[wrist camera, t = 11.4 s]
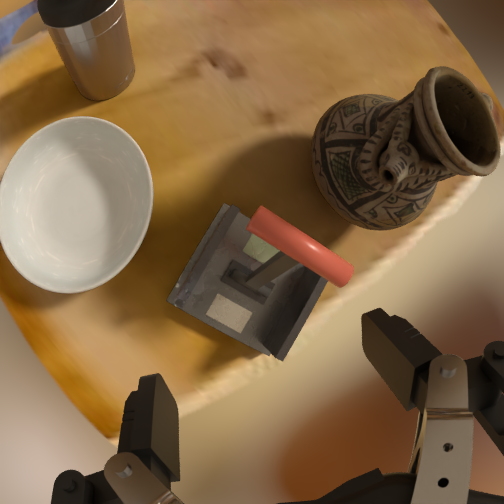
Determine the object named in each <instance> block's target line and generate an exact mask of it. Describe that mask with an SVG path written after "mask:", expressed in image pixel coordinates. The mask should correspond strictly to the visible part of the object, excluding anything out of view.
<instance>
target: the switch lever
mask: <svg viewBox="0 0 504 504" xmlns="http://www.w3.org/2000/svg"><path fill="white" fill-rule="evenodd" d="M246 230H248V231H249V232H251V233H253V234H254V235H256V236H257V237H259V238H261V239H262V240H264V241H266V242H267V243H269V244H270V245H272V246H274V247H275V248H277V249H278V250H280V251H279V252H278V253H277V254H275V255H274V256H273V257H271V258H270V259H269V260H267V261H266V262H265V263H263V264H262V265H261V266H260V267H258V268H257V269H256V270H254V271H253V272H252V273H250V274H249V275H248V276H247V275H246V274H244V273H242V272H241V271H239V270H237V269H236V268H235V269H234V270H233V272H232V274H231V276H230V278H232V279H234V280H236V281H237V282H239V283H241V284H242V285H244V286H246V287H248V288H249V289H251V290H253V291H255V292H256V293H258V294H260V295H262V296H263V297H265V298H268V296H269V295H270V293H271V289H270V288H268V287H266V286H264V285H265V284H267V283H269V282H270V281H272V280H274V279H275V278H277V277H278V276H280V275H282V274H283V273H285V272H286V271H288V270H290V269H291V268H293V267H294V266H296V265H297V264H299V263H301V264H302V265H304V266H305V267H307V268H309V269H310V270H312V271H313V272H315V273H317V274H318V275H320V276H321V277H323V278H324V279H326V280H328V281H329V282H331V283H332V284H334V285H335V286H337V287H339V288H341V287H343V286H345V285H346V284H347V283H348V281H349V280H350V278H351V277H352V274H353V271H354V268H353V266H352V265H351V264H350V263H348V262H347V261H345V260H344V259H342V258H341V257H339V256H338V255H336V254H335V253H333V252H332V251H330V250H329V249H327V248H326V247H324V246H323V245H322V244H320V243H319V242H317V241H316V240H314V239H313V238H311V237H309V236H308V235H306V234H305V233H303V232H302V231H300V230H299V229H297V228H296V227H294V226H293V225H291V224H290V223H288V222H287V221H285V220H284V219H282V218H280V217H279V216H277V215H276V214H274V213H273V212H271V211H270V210H268V209H266V208H265V207H263V206H262V205H261V206H260V207H259V208H258V209H257V210H256V212H255V213H254V215H253V216H252V218H251V219H250V221H249V223H248V225H247V227H246Z"/></svg>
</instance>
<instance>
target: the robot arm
mask: <svg viewBox="0 0 504 504" xmlns="http://www.w3.org/2000/svg"><path fill="white" fill-rule="evenodd" d="M37 5H38V11H39V14H40V16H41V18H42V20H43V22H44V24H45V26H46V28H47V30H48V32H49V34H50V36H51V38H52V40H53V42H54V44H55V46H56V49H57V51H58V53H59V55H60V57H61V59H62V61H63V62H64V64H65V66H66V68H67V70H68V72H69V74H70V76H71V78H72V79H73V81H74V83H75V84H76V86H77V88H78V90H79V92H80V93H81V94H82V95H83V96H84V97H86V98H87V99H91V100H106V99H109V98H112V97H114V96H116V95H118V94H119V93H121V92H122V91H123V90H124V89H125V88H126V87H127V86H128V85H129V84H130V82H131V81H132V79H133V77H134V73H135V66H134V60H133V55H132V49H131V44H130V38H129V32H128V26H127V20H126V14H125V7H124V1H123V0H38V3H37ZM361 320H362V321H361V322H362V346H363V350H364V353H365V355H366V357H367V358H368V360H369V361H370V362H371V364H372V365H373V366H374V368H375V369H376V370H377V372H378V373H379V374H380V375H381V377H382V378H383V379H384V381H385V382H386V384H387V385H388V386H389V388H390V389H391V390H392V392H393V393H394V394H395V396H396V397H397V398H398V400H399V401H400V402H401V404H402V405H403V407H404V408H405V409H406V411H409V410H411V409H412V408H415V407H417V408H418V409H419V411H420V412H419V417H418V423H417V430H416V436H415V442H414V447H413V453H412V457H411V461H410V464H409V468H408V472H407V473H402V472H396V473H386V474H381V472H380V470H379V468H377V469H375V470H372V471H370V472H368V473H365V474H363V475H361V476H358V477H356V478H353V479H351V480H349V481H347V482H345V483H344V484H342V485H341V486H339V487H337V488H336V489H334V490H333V491H331V492H329V493H328V494H326V495H325V496H323V497H321V498H319V499H317V500H311V501H301V502H288V503H278V504H504V496H499V495H493V494H488V493H484V492H479V491H475V490H470V489H469V483H470V474H471V463H472V448H473V415H474V417H475V418H476V419H477V420H478V422H479V423H480V424H481V426H482V427H483V428H484V430H485V431H486V432H487V434H488V435H489V436H490V438H491V439H492V441H493V442H494V443H495V444H496V446H497V447H498V449H499V450H500V451H501V453H502V454H503V456H504V395H503V394H502V392H503V393H504V342H502V341H494V342H491V343H489V344H488V345H487V346H486V347H485V349H484V352H483V355H482V356H479V357H475V358H471V359H468V360H462V359H461V358H460V357H458V356H456V355H452V354H444V355H443V354H442V353H441V352H440V351H439V350H438V349H437V348H436V347H434V346H433V345H432V344H431V343H430V342H429V341H428V340H427V339H426V338H425V337H424V336H423V335H422V334H420V332H419V331H418V330H417V329H415V328H414V327H413V326H412V325H411V324H410V323H409V322H408V321H407V320H406V319H403V318H401V317H398V316H396V315H393V316H391V317H390V316H389V315H388V314H387V313H386V312H385V311H383V309H381V308H377V309H375V310H372V311H370V312H367V313H364V314H363V315H362V318H361ZM122 421H123V423H122V424H121V431H120V437H119V444H118V452H117V454H116V455H114V456H112V457H111V458H110V459H109V460H108V461H107V463H106V464H105V467H104V470H102V471H99V472H96V473H94V474H91V475H88V476H83V475H82V474H81V473H80V472H78V471H76V470H67V471H64V472H62V473H61V474H60V475H59V476H58V477H57V478H56V480H55V483H54V487H53V493H52V500H51V504H184V503H183V502H182V501H181V500H180V499H179V498H178V497H177V496H176V495H174V493H172V492H171V482H176V481H180V462H179V423H178V422H179V418H178V408H177V404H176V401H175V399H174V397H173V396H172V394H171V392H170V390H169V389H168V387H167V385H166V383H165V381H164V379H163V378H162V376H161V375H160V374H159V373H157V374H152V375H147V376H142V377H140V379H139V385H138V391H132V392H131V393H130V395H129V397H128V398H127V400H126V401H125V406H124V414H123V418H122Z"/></svg>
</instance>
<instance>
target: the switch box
mask: <svg viewBox="0 0 504 504" xmlns="http://www.w3.org/2000/svg"><path fill="white" fill-rule="evenodd" d="M239 211H240V209H239V208H238V207H236V206H235V205H233V204H232V205H231V206H229V205H227V204H225V203H224V204H223V205H222V207H221V208H220V210H219V212H218V213H217V215H216V217H215V218H214V220H213V222H212V223H211V225H210V226H209V228H208V230H207V231H206V233H205V235H204V236H203V238H202V240H201V241H200V243H199V245H198V247H197V248H196V250H195V252H194V253H193V255H192V257H191V258H190V260H189V262H188V263H187V265H186V267H185V269H184V270H183V272H182V274H181V276H180V277H179V279H178V281H177V282H176V284H175V286H174V288H173V290H172V291H171V293H170V295H169V297H168V298H167V301H168V302H169V303H171V304H173V305H174V306H176V307H178V308H180V309H181V310H183V311H185V312H187V313H188V314H190V315H192V316H194V317H195V318H197V319H199V320H201V321H203V322H204V323H206V324H208V325H210V326H212V327H214V328H215V329H217V330H219V331H221V332H223V333H225V334H227V335H229V336H230V337H232V338H234V339H236V340H238V341H240V342H242V343H244V344H246V345H248V346H250V347H252V348H254V349H256V350H258V351H260V352H262V353H264V354H266V355H268V356H270V354H272V355H273V356H274V357H275V358H277V359H279V360H281V361H283V360H284V358H285V357H286V355H287V353H288V352H289V350H290V348H291V346H292V345H293V343H294V341H295V340H296V338H297V336H298V334H299V333H300V331H301V329H302V327H303V326H304V324H305V322H306V320H307V318H308V317H309V315H310V313H311V311H312V309H313V308H314V306H315V304H316V302H317V300H318V298H319V297H320V295H321V293H322V291H323V289H324V287H325V285H326V283H327V282H328V280H326V279H324V278H323V277H321V276H320V275H318V274H317V273H315V272H313V271H312V270H310V269H309V268H307V267H305V266H304V265H302V264H301V263H299V264H297V265H296V266H294V267H293V268H291V269H290V270H288V271H286V272H285V273H283V274H282V275H280V276H278V277H277V278H275V279H274V280H272V281H270V282H269V283H267V284H265V285H264V286H266V287H268V288H270V289H271V293H270V295H269V296H268V298H265V297H263V296H262V295H260V294H258V293H256V292H255V291H253V290H251V289H249V288H248V287H246V286H244V285H242V284H241V283H239V282H237V281H236V280H234V279H232V278H230V276H231V274H232V272H233V270H234V269H235V268H236V269H237V270H239V271H241V272H242V273H244V274H246V275H247V276H248V275H249V274H250V273H252V272H253V271H254V270H256V269H257V268H258V267H260V266H261V265H262V264H263V263H265V262H266V261H267V260H269V259H270V258H271V257H273V256H274V255H275V254H277V253H278V252H279V251H280V250H278V249H277V248H275V247H274V246H272V245H270V244H269V243H267V242H266V241H264V240H262V239H261V238H259V237H257V236H256V235H254V234H253V233H251V232H249V231H248V230H246V227H247V225H248V223H249V221H250V218H248V217H246V216H245V215H243V214H242V213H240V212H239Z"/></svg>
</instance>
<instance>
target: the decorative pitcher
mask: <svg viewBox="0 0 504 504" xmlns="http://www.w3.org/2000/svg"><path fill="white" fill-rule="evenodd" d="M492 109H493V102H492V99H491V97H490V96H489V95H488V94H486V93H480V92H479V91H478V90H477V88H476V87H475V86H474V85H473V84H472V82H471V81H470V80H469V79H467V78H466V77H465V76H464V75H463V74H461V73H459V72H458V71H456V70H454V69H452V68H449V67H444V66H440V67H435V68H432V69H430V70H429V71H428V73H427V74H426V76H425V77H424V78H422V79H420V80H419V81H418V83H417V84H416V86H415V89H414V90H413V91H412V92H411V93H410V94H408V95H407V96H406V97H404V98H403V99H401V100H399V101H398V100H396V99H393V98H391V97H387V96H383V95H376V94H363V95H356V96H351V97H348V98H345V99H343V100H341V101H339V102H337V103H336V104H334V105H333V106H331V107H330V108H329V109H328V110H327V111H326V112H325V113H324V115H323V116H322V117H321V119H320V120H319V122H318V124H317V126H316V129H315V132H314V135H313V140H312V146H311V164H312V170H313V174H314V178H315V181H316V183H317V186H318V188H319V190H320V192H321V194H322V195H323V197H324V198H325V200H326V201H327V202H328V203H329V205H330V206H331V207H332V208H333V209H334V210H335V211H336V212H337V213H338V214H339V215H340V216H341V217H343V218H344V219H345V220H347V221H349V222H350V223H352V224H354V225H357V226H359V227H362V228H365V229H370V230H391V229H395V228H398V227H401V226H403V225H406V224H408V223H410V222H411V221H413V220H414V219H416V218H417V217H418V216H419V215H420V214H421V213H422V212H423V211H424V209H425V208H426V207H427V205H428V204H429V202H430V200H431V199H432V197H433V194H434V192H435V189H436V186H437V182H438V181H442V180H445V179H447V178H450V177H452V176H455V175H457V174H459V175H463V176H470V175H476V176H487V175H489V174H490V173H492V172H493V171H494V170H495V169H496V167H497V165H498V163H499V159H500V141H499V136H498V132H497V128H496V125H495V121H494V119H493V116H492V113H491V111H492Z"/></svg>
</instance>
